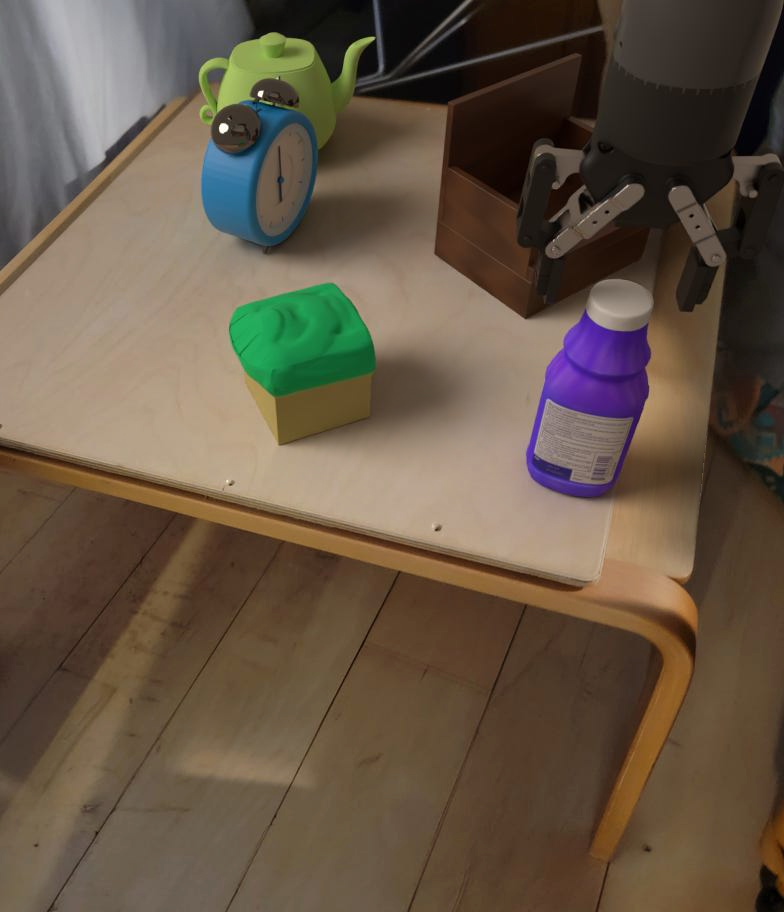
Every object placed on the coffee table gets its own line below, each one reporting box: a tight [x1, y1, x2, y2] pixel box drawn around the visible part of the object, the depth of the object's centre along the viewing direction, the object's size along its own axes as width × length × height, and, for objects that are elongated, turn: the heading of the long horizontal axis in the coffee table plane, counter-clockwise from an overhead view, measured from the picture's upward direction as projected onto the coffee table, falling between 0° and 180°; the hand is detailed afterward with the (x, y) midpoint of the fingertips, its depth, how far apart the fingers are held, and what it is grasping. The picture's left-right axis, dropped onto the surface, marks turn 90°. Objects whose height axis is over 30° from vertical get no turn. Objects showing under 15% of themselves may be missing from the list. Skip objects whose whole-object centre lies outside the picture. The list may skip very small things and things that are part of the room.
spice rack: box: [433, 52, 651, 320], centre depth 85 cm, size 13×16×16 cm
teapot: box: [198, 31, 376, 151], centre depth 103 cm, size 16×14×13 cm
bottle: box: [525, 278, 655, 498], centre depth 65 cm, size 7×6×17 cm
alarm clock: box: [200, 75, 319, 255], centre depth 90 cm, size 13×6×15 cm, turn 150°
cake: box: [228, 281, 377, 446], centre depth 74 cm, size 10×11×10 cm
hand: (615, 300), depth 59 cm, fingers open, 8 cm apart
